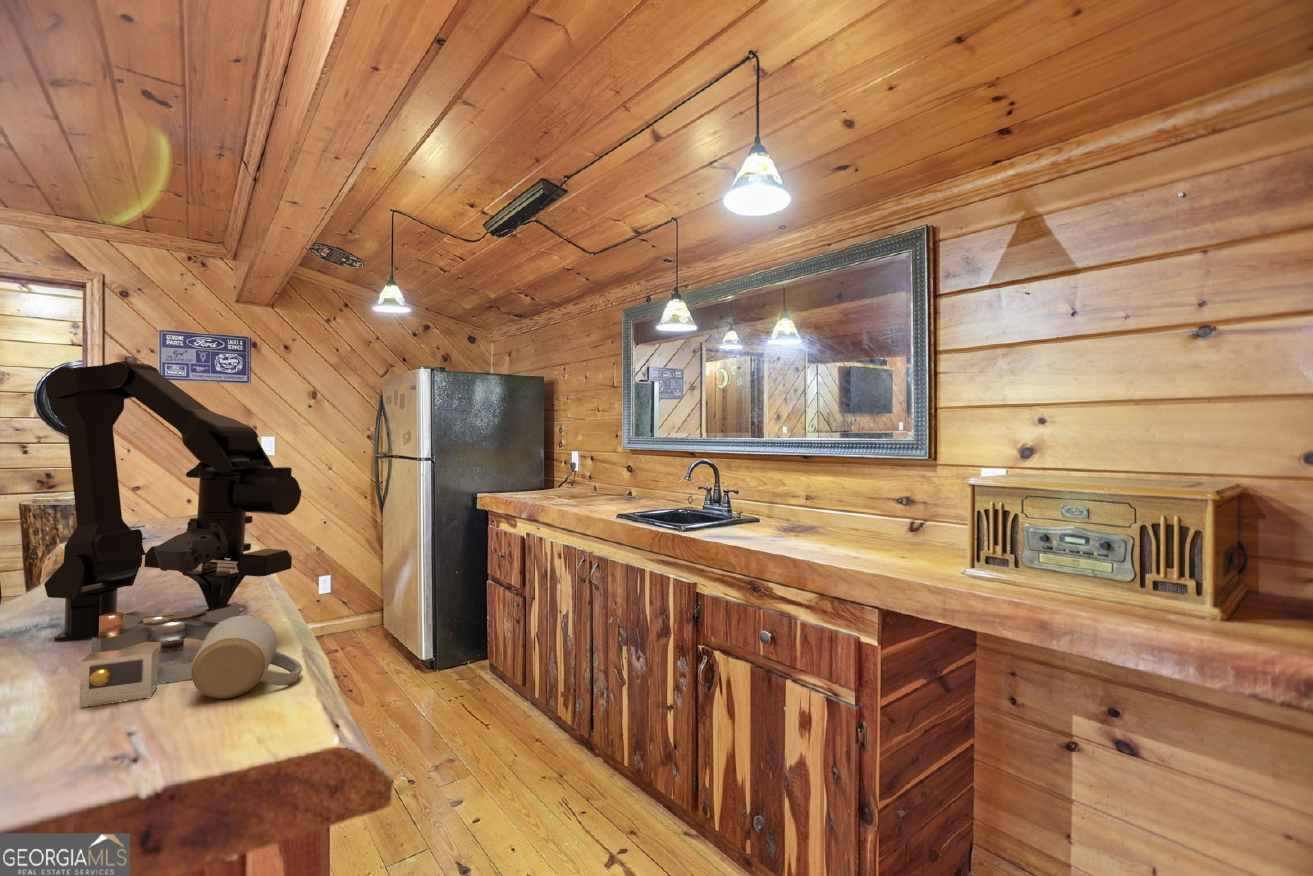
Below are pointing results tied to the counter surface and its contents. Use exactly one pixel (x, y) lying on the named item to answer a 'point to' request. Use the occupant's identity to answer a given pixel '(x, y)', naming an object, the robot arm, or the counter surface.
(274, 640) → the ceramic mug
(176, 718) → the counter surface
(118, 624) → the capstan
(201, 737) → the counter surface
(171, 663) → the stand
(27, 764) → the counter surface
